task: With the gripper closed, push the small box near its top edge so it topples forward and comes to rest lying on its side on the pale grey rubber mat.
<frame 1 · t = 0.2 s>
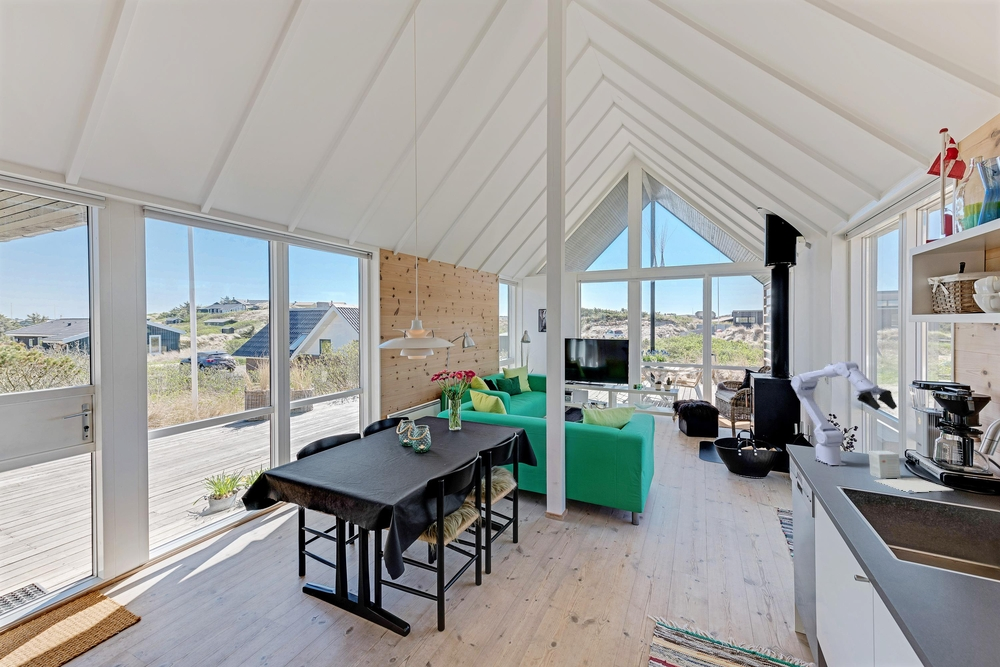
hand: (886, 408, 166), 31 cm above the worktop, tool tilted 45°, fingers open, 7 cm apart
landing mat: (912, 485, 162), on the worktop
small box: (885, 477, 173), on the worktop
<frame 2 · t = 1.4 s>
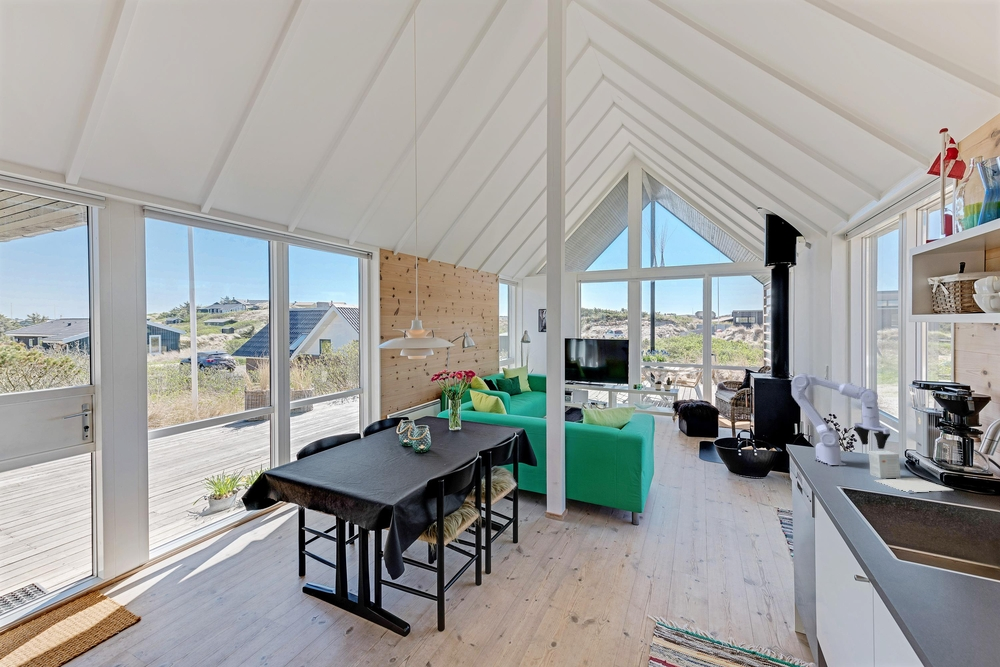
hand: (873, 446, 183), 10 cm above the worktop, tool pointing down, fingers open, 7 cm apart
nothing on the worktop moved.
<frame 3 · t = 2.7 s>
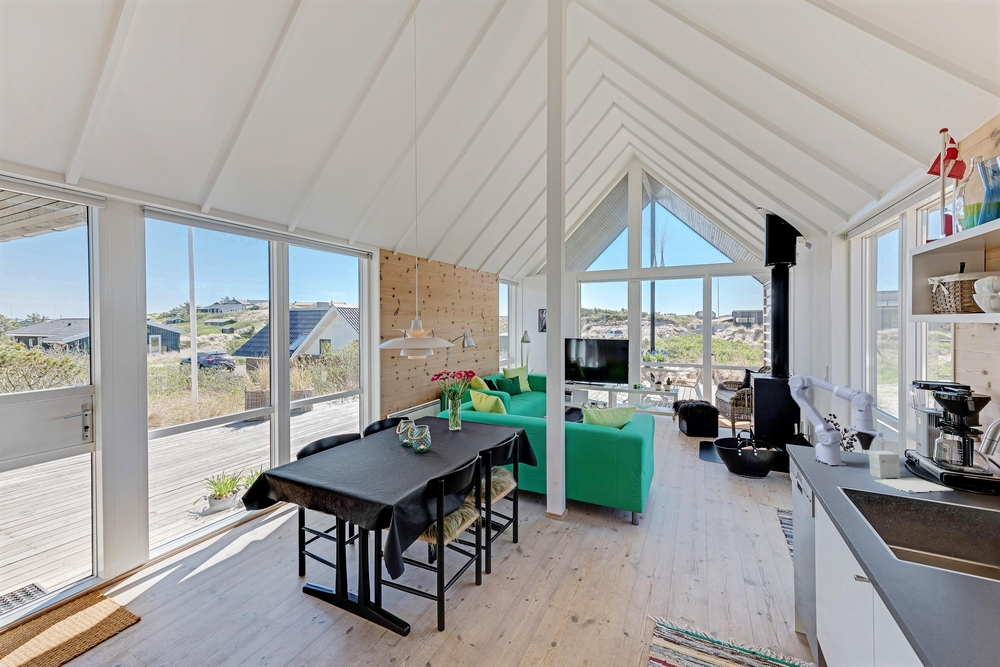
hand: (865, 449, 182), 9 cm above the worktop, tool pointing down, fingers closed
nothing on the worktop moved.
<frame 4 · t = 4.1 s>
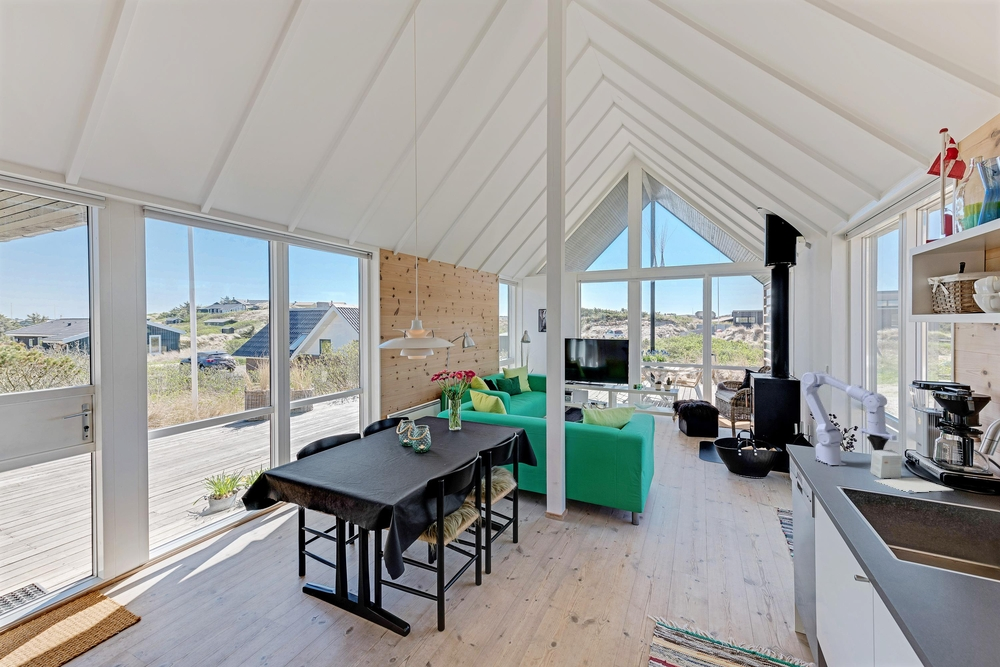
hand: (878, 453, 176), 9 cm above the worktop, tool pointing down, fingers closed
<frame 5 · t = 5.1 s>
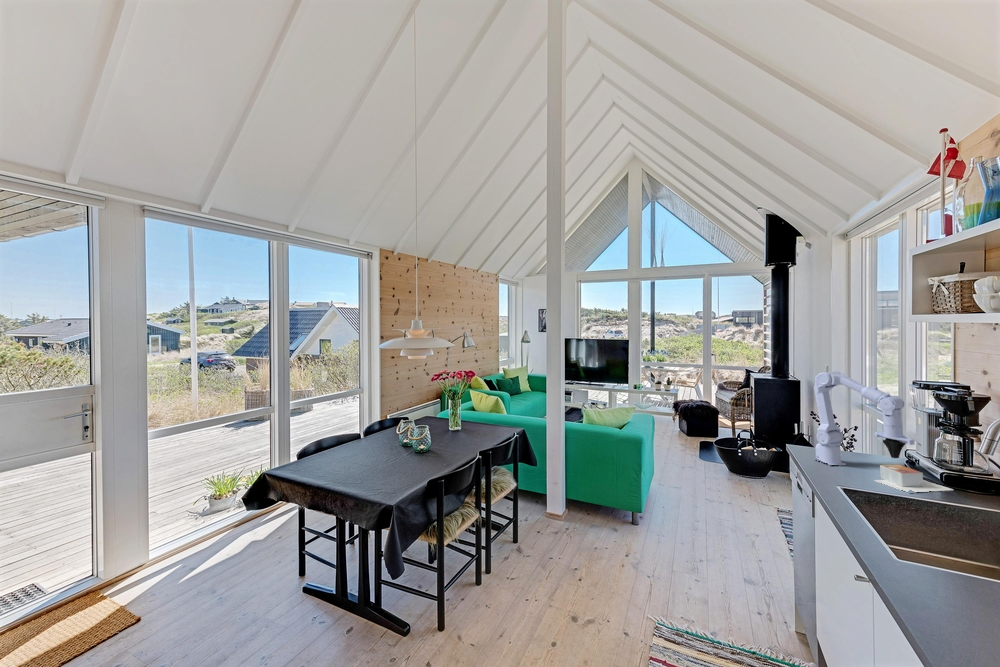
hand: (895, 457, 169), 9 cm above the worktop, tool pointing down, fingers closed
small box: (889, 471, 171), point 3 cm above the worktop, touching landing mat
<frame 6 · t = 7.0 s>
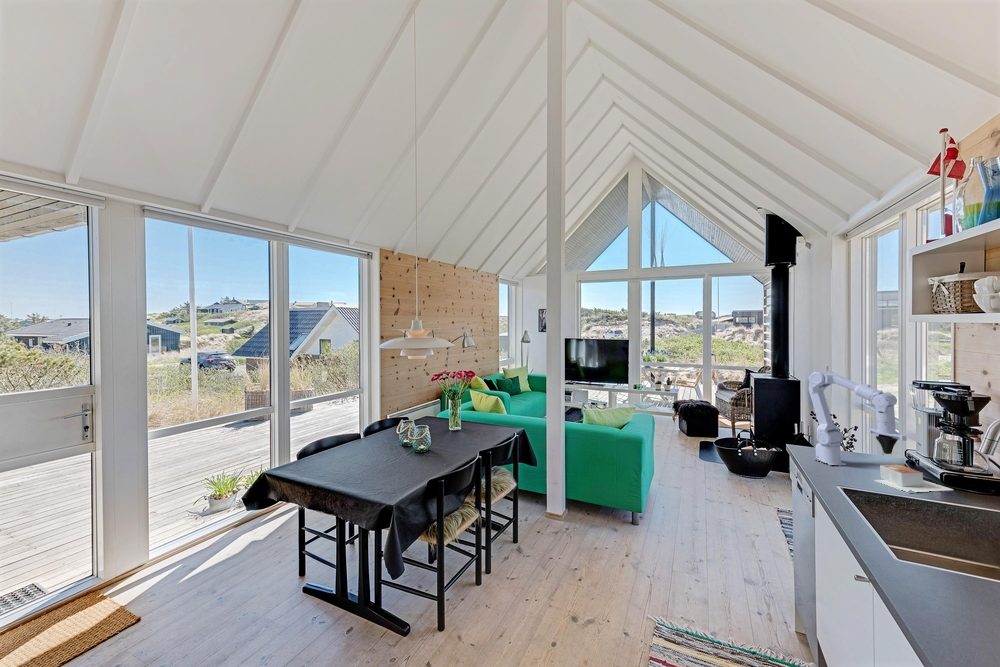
hand: (887, 453, 172), 10 cm above the worktop, tool pointing down, fingers closed
nothing on the worktop moved.
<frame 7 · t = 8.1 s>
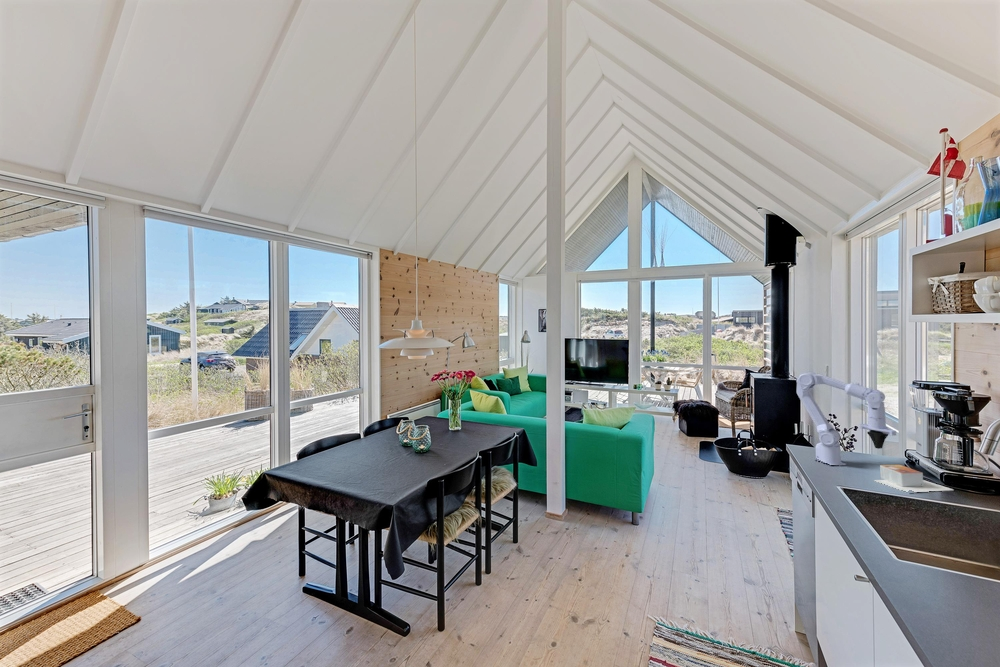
hand: (878, 448, 180), 10 cm above the worktop, tool pointing down, fingers closed
nothing on the worktop moved.
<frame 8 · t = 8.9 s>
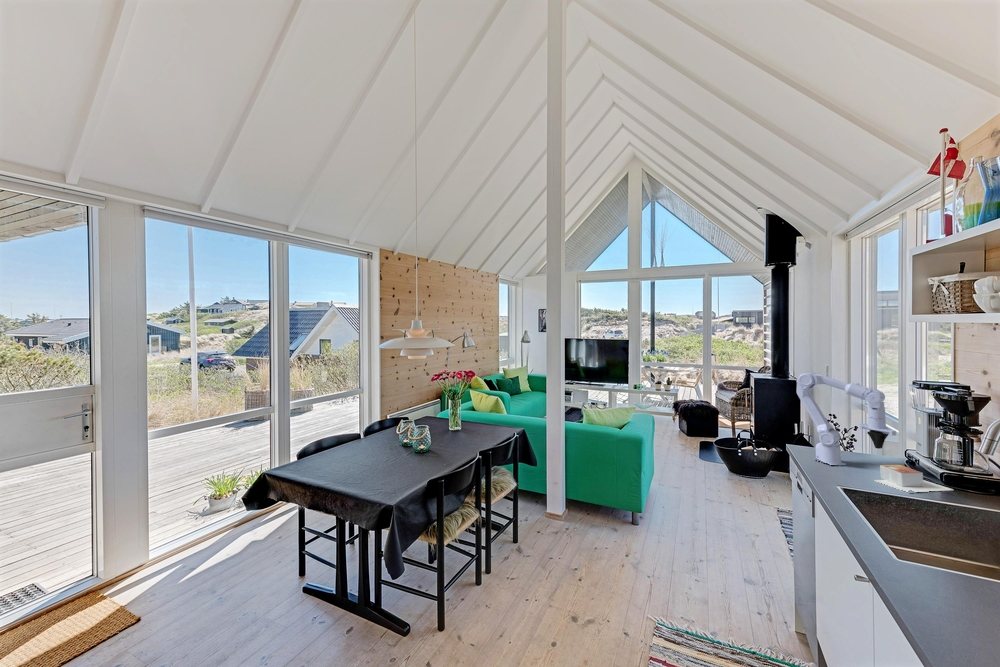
hand: (878, 448, 180), 10 cm above the worktop, tool pointing down, fingers closed
nothing on the worktop moved.
at the end: small box tilted 90°; small box inside the target area (7.6 cm from its centre), point 3.1 cm above the worktop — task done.
